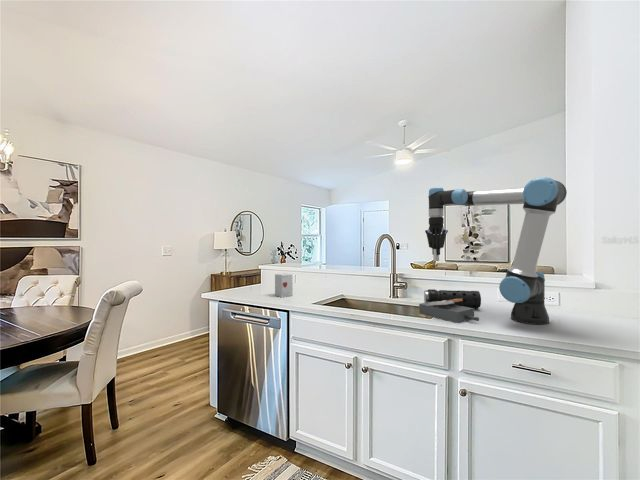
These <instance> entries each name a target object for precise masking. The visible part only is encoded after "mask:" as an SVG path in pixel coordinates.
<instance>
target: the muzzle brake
mask: <svg viewBox="0 0 640 480" xmlns="http://www.w3.org/2000/svg"><path fill="white" fill-rule="evenodd" d="M461 298H462V300H463V301H459V302H454V303H455V305H459V306H464V307H469V308H474V310H479V308H481V305H482V296H481V293H480V291H479V290H446V289H439V290H437V289H435V288H434V289H433V288H432V289H430V288H429V289H427V290H424V291H423V303H427V302H433V301H443V300H453V299H461Z"/></svg>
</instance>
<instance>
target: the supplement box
mask: <svg viewBox="0 0 640 480" xmlns="http://www.w3.org/2000/svg"><path fill="white" fill-rule="evenodd" d="M274 296H276V297H278V298H279V297H280V298H286V297H293V273H287V272H285V273H284V272H283V273H275V274H274Z"/></svg>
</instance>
